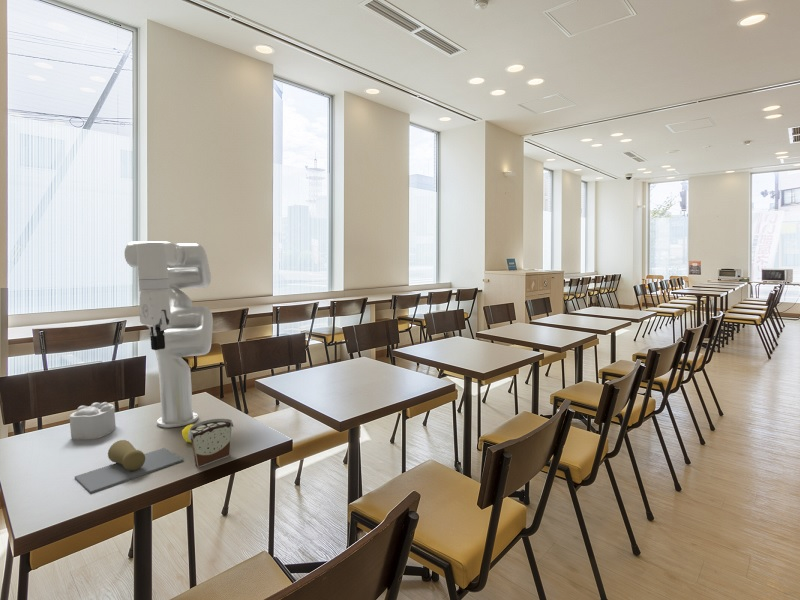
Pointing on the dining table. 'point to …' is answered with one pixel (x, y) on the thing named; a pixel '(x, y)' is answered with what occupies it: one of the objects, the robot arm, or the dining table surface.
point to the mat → (126, 471)
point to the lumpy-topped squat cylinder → (92, 421)
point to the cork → (126, 455)
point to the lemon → (186, 432)
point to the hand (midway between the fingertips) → (158, 349)
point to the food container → (210, 440)
